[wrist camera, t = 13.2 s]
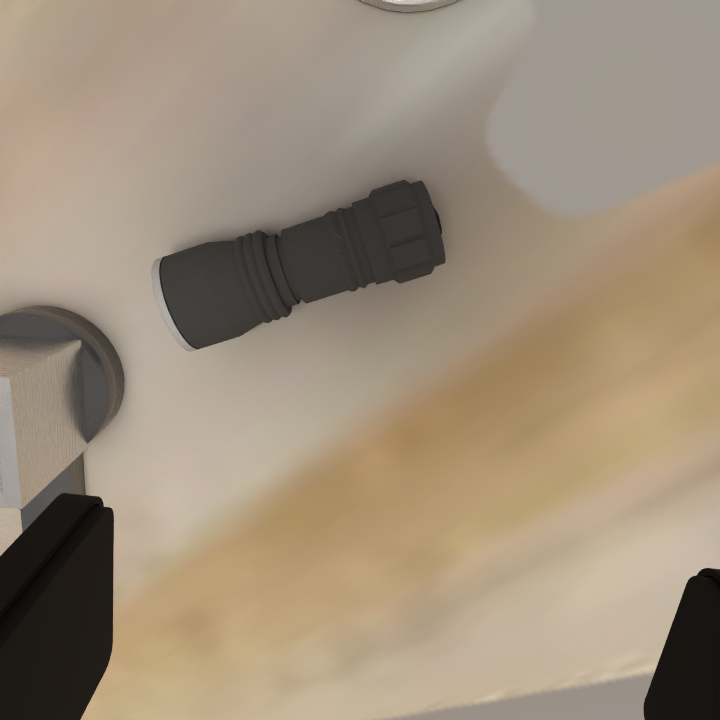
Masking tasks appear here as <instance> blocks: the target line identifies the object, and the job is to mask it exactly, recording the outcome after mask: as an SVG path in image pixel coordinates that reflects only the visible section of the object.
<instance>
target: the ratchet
mask: <svg viewBox="0 0 720 720" xmlns="http://www.w3.org/2000/svg"><path fill="white" fill-rule="evenodd" d="M0 335H11V336H26V337H40V338H55V339H69V340H81V350H82V367H83V383H84V400H85V416H86V433H87V444H88V443H89V442H90V441H91V440H92V439H93V438H94V437H95V436H96V435H97V434H99V433H100V432H101V431H102V430H103V429H104V428H105V427H106V426H107V425H108V424H109V423H110V422H111V421H112V419H113V418H114V417H115V415H116V414H117V412H118V410H119V408H120V405H121V402H122V399H123V394H124V374H123V369H122V365H121V362H120V359H119V357H118V354H117V352H116V351H115V349H114V347H113V345H112V344H111V342H110V341H109V340H108V338H107V337H106V336H105V335H104V334H103V333H102V332H101V330H99V329H98V328H97V327H96V326H95V325H94V324H92V323H91V322H89V321H88V320H87V319H85V318H83V317H82V316H80V315H78V314H76V313H73V312H71V311H68V310H65V309H62V308H58V307H51V306H32V307H26V308H22V309H19V310H16V311H13V312H10V313H7V314H4V315H1V316H0ZM61 493H71V494H80V495H85V480H84V464H83V452H82V453H81V454H80V455H79V456H78V457H77V458H76V459H75V460H74V461H73V462H72V463H71V464H70V465H69V466H67V467H66V468H65V469H64V470H63V471H62V472H61V473H60V474H59V475H58V476H57V477H56V478H55V479H54V480H52V481H51V482H50V483H49V484H48V485H47V486H46V487H45V488H44V489H43V490H42V491H41V492H40V493H39V494H37V495H36V496H35V497H34V498H33V499H32V500H31V501H30V502H29V503H28V504H27V505H26V506H25V507H24V508H22V509H20V510H21V520H22V530H23V532H24V531H25V530H26V529H27V528H28V527H29V526H30V525H31V523H32V522H33V521H34V520H35V519H36V518H37V517H38V516H39V515H40V514H41V513H42V512H43V511H44V510H45V509H46V508H47V507H48V506H49V505H50V503H51V502H52V501H53V500H54V499H55V498H56V497H57V496H58V495H60V494H61Z"/></svg>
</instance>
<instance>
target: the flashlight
mask: <svg viewBox="0 0 720 720" xmlns="http://www.w3.org/2000/svg"><path fill="white" fill-rule="evenodd" d="M441 234H442V230H441V224H440V220H439V216H438V214H437V211H436V210H435V208H434V207H433V205H432V202H431V200H430V197H429V194H428V191H427V189H426V187H425V185H424V183H423V182H422V181H418V182H415V183H412V184H410V183H409V182H407V181H405V180H402V181H399V182H396V183H393V184H390V185H387V186H384V187H381V188H378V189H375V190H372V191H371V193H370V195H369V198H366V199H363V200H360V201H357V202H354V203H352V207H351V208H347V209H342V208H339V209H338V210H337V211H336V212H333V211H329V212H328V213H327V214H326V215H325V216H323V217H320V218H317V219H314V220H311V221H308V222H305V223H302V224H299V225H296V226H293V227H290V228H287V229H284V230H282V231H281V236H280V237H278V236H277V235H273V236H270V237H268V236H267V235H266V234H265V233H264V232H262V231H259V230H257V231H256V232H255V233H254V234H251V233H248V234H247V235H245V237H242V236H239V237H238V238H236V240H235V241H224V242H209V243H204V244H201V245H198V246H195V247H192V248H189V249H186V250H183V251H180V252H177V253H174V254H171V255H168V256H165V257H162V258H159V259H157V260H155V262H154V263H153V266H152V283H153V290H154V294H155V298H156V302H157V305H158V307H159V310H160V312H161V315H162V317H163V319H164V322H165V324H166V326H167V328H168V330H169V331H170V333H171V335H172V336H173V337H174V339H175V340H176V341H177V343H178V344H179V345H180V346H181V347H182V348H184V349H185V350H187V351H194V350H198V349H201V348H204V347H207V346H210V345H213V344H216V343H220V342H223V341H226V340H229V339H232V338H236V337H239V336H241V335H243V334H244V333H246V332H248V331H249V330H251V329H252V328H254V327H256V326H257V325H259V324H261V323H262V322H266V323H269V322H271V321H272V320H273V319H274V320H278V319H280V318H281V316H282V317H288V316H289V315H290V313H291V311H292V306H293V305H296V304H299V303H300V300H302V299H303V301H304V302H305V303H309V302H312V301H316V300H319V299H322V298H325V297H328V296H331V295H335V294H338V293H341V292H344V291H347V290H349V291H356V290H357V289H358V288H359V287H362V288H365V287H366V286H367V285H368V284H369V283H372V282H375V281H376V284H381V283H384V282H387V281H390V280H393V279H394V280H395V281H396V282H398V283H403V282H406V281H409V280H412V279H416V278H419V277H422V276H425V275H428V274H431V272H432V271H433V269H434V266H437V265H440V264H444V263H445V252H444V246H443V241H442V237H441Z"/></svg>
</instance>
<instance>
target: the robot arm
mask: <svg viewBox="0 0 720 720" xmlns="http://www.w3.org/2000/svg"><path fill="white" fill-rule="evenodd" d="M361 1H362V2H365V3H368V4H371V5H373V6H376V7H379V8H382V9H386V10H393V11H401V12H415V11H427V10H432V9H435V8H438V7H442V6H445V5H448V4H451V3H453V2H455V1H457V0H361ZM113 542H114V514H113V510H112V509H111V508H109V507H104V506H103V501H102V499H101V498H100V497H97V496H88V495H80V494H71V493H61V494H60V495H58V496H57V497H56V498H55V499H54V500H53V501H52V502H51V503H50V505H49V506H48V507H47V508H46V509H45V510H44V511H43V512H42V513H41V514H40V515H39V516H38V517H37V518H36V519H35V520H34V521H33V522H32V523H31V525H30V526H29V527H28V528H27V529H26V530H25V531H24V532H23V533H22V534H21V535H20V536H19V537H18V538H17V539H16V540H15V541H14V542H13V544H12V545H11V546H10V547H9V548H8V549H7V550H6V551H5V552H4V553H3V554H2V555H1V556H0V720H80V719H81V717H82V715H83V713H84V711H85V709H86V707H87V706H88V704H89V702H90V700H91V698H92V696H93V694H94V692H95V690H96V688H97V686H98V684H99V682H100V680H101V678H102V677H103V675H104V673H105V671H106V668H107V666H108V663H109V660H110V656H111V652H112V644H113ZM644 718H645V720H720V569H711V568H706V569H702V570H701V571H700V572H699V573H698V574H697V576H693V577H691V578H690V579H689V580H688V582H687V584H686V587H685V590H684V593H683V595H682V598H681V601H680V604H679V607H678V609H677V612H676V615H675V618H674V620H673V623H672V626H671V629H670V632H669V634H668V637H667V640H666V643H665V645H664V648H663V651H662V654H661V657H660V659H659V662H658V665H657V668H656V671H655V673H654V676H653V679H652V682H651V685H650V688H649V690H648V693H647V696H646V698H645V702H644Z"/></svg>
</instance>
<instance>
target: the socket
mask: <svg viewBox="0 0 720 720" xmlns="http://www.w3.org/2000/svg"><path fill="white" fill-rule="evenodd" d="M86 449H87V433H86V416H85V400H84V383H83V367H82V350H81V340H69V339H55V338H40V337H26V336H11V335H0V508H16V509H22V508H24V507H25V506H26V505H27V504H28V503H29V502H30V501H31V500H32V499H33V498H34V497H35V496H36V495H37V494H39V493H40V492H41V491H42V490H43V489H44V488H45V487H46V486H47V485H48V484H49V483H50V482H51V481H52V480H54V479H55V478H56V477H57V476H58V475H59V474H60V473H61V472H62V471H63V470H64V469H65V468H66V467H67V466H69V465H70V464H71V463H72V462H73V461H74V460H75V459H76V458H77V457H78V456H79V455H80V454H81V453H82V452H83V451H85V450H86Z"/></svg>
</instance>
